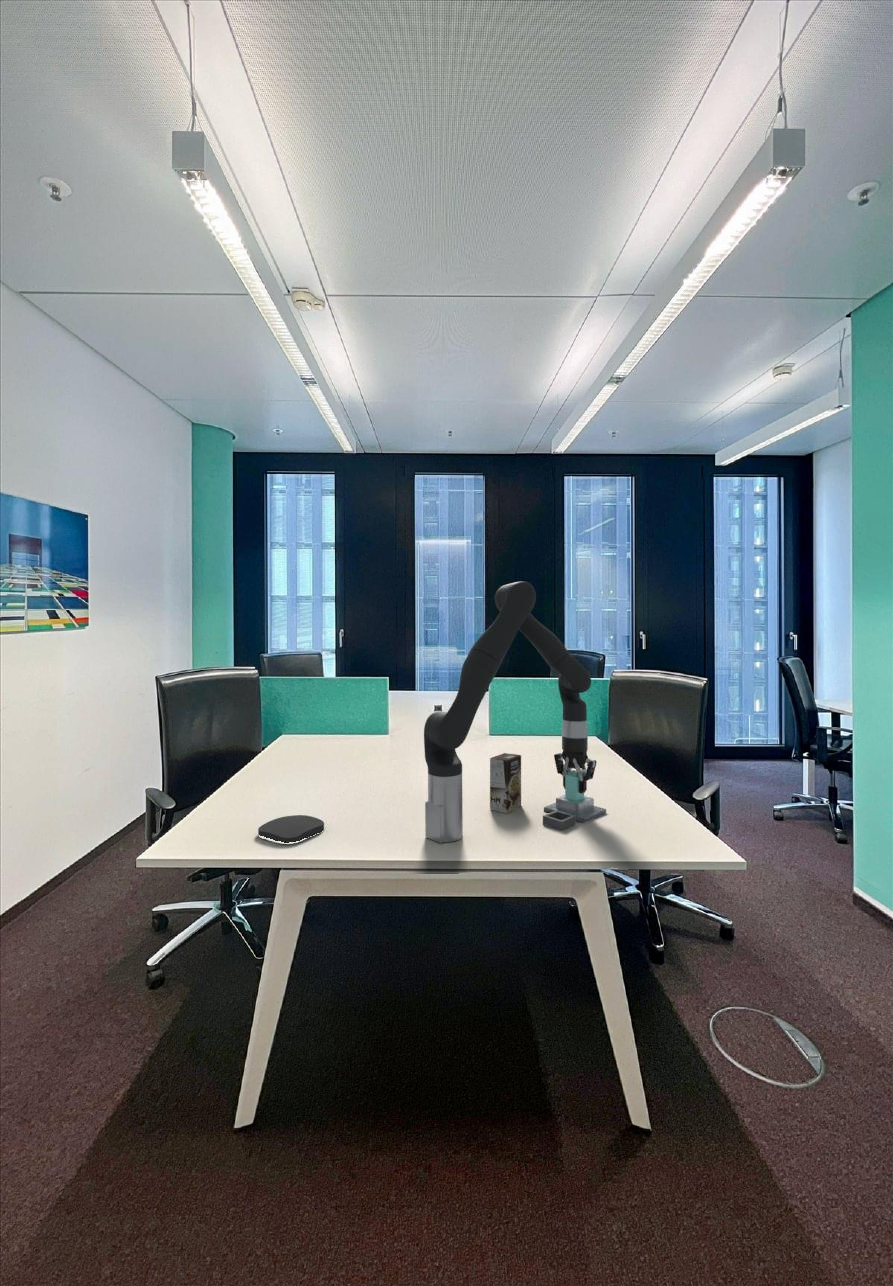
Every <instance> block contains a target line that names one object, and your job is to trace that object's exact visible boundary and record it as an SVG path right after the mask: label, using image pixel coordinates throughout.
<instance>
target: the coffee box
mask: <svg viewBox="0 0 893 1286" xmlns="http://www.w3.org/2000/svg"><path fill="white" fill-rule="evenodd" d="M520 807H522V755H521V754H517V753H505V752H504V753H501V754H498V755H495V756H492V757H489V810H491V811H494V812H499V813H504V814H508V813H511V812H512V811H514V810H516V809H518V808H520Z"/></svg>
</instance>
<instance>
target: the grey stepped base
mask: <svg viewBox="0 0 893 1286" xmlns="http://www.w3.org/2000/svg"><path fill="white" fill-rule="evenodd" d="M594 804H595V799H594V797H591V796H587V795H586V796H585V795H584V800H582V801H579V802H575V801H571V800H567V799H565V794H563V795H561V796H559V797H556V798H555V802H554V803H552V804H548V805H546V806H543V812H546V813H548V814H549V813H551V812H554V811H556V810H557V811H561V812H564V813H567V814H571V815H574V816H576V822H579V823H582V824H585V823H587V822H590V821H591V820H594V819H596V818H598V817H601V816H603V815H605V814H607V809H606V808H604V807H603V808H602V807H600V806H597V805H594Z"/></svg>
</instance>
